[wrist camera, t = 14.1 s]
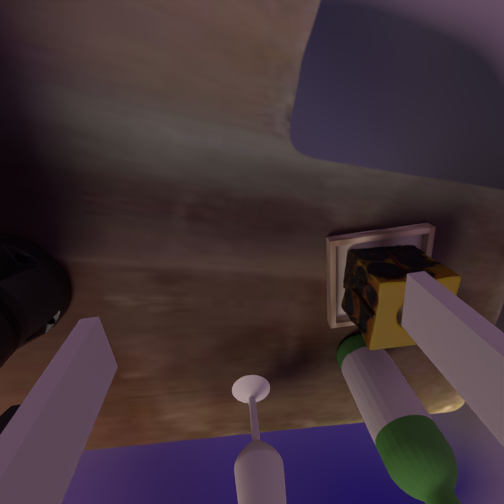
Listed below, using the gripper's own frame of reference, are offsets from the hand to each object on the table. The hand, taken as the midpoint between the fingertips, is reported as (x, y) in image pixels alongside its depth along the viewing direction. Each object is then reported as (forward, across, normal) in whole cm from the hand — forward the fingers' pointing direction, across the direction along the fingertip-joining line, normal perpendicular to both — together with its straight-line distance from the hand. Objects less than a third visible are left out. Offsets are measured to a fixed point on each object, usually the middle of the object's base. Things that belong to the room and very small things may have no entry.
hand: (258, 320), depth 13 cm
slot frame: (+28, +19, -16) cm, 38 cm away
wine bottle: (+29, +17, -30) cm, 45 cm away
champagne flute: (+29, -2, -36) cm, 46 cm away
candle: (+28, +19, -16) cm, 38 cm away
